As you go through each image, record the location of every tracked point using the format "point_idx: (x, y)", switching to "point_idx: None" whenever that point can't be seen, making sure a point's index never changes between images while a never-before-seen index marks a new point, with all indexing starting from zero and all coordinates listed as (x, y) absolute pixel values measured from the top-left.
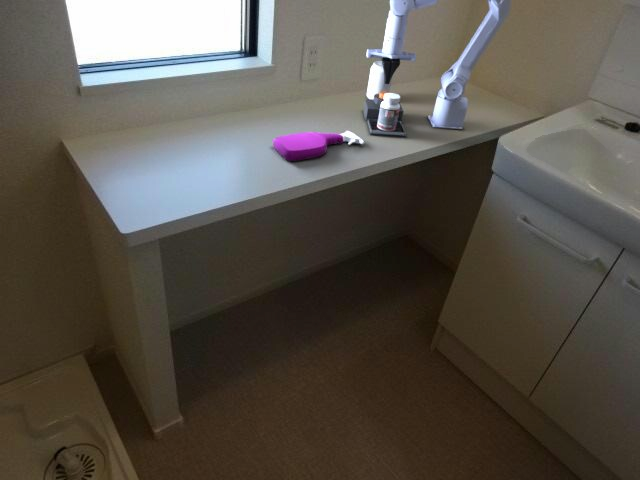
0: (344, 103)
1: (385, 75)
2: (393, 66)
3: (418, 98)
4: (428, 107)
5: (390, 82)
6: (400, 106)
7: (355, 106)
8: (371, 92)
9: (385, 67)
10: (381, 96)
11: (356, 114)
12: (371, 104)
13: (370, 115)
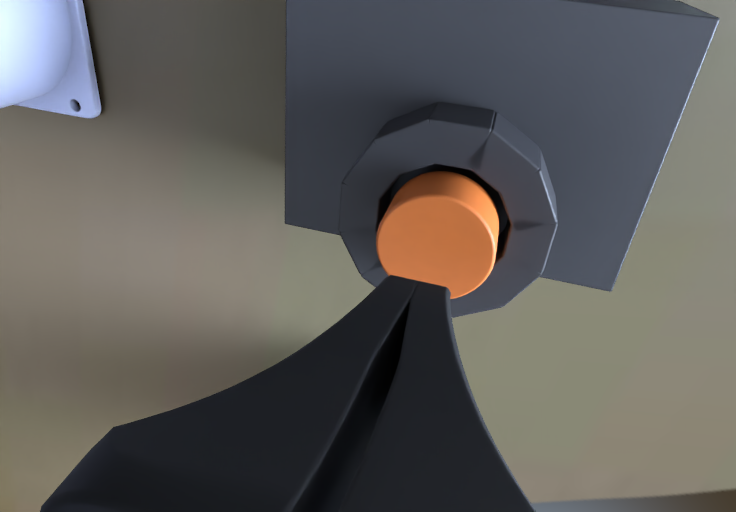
0: (698, 376)
1: (454, 359)
2: (271, 449)
3: (150, 390)
4: (99, 276)
5: None
6: (293, 103)
7: (625, 322)
8: None
9: (485, 477)
10: (485, 204)
11: (698, 172)
12: (607, 147)
13: (653, 3)
